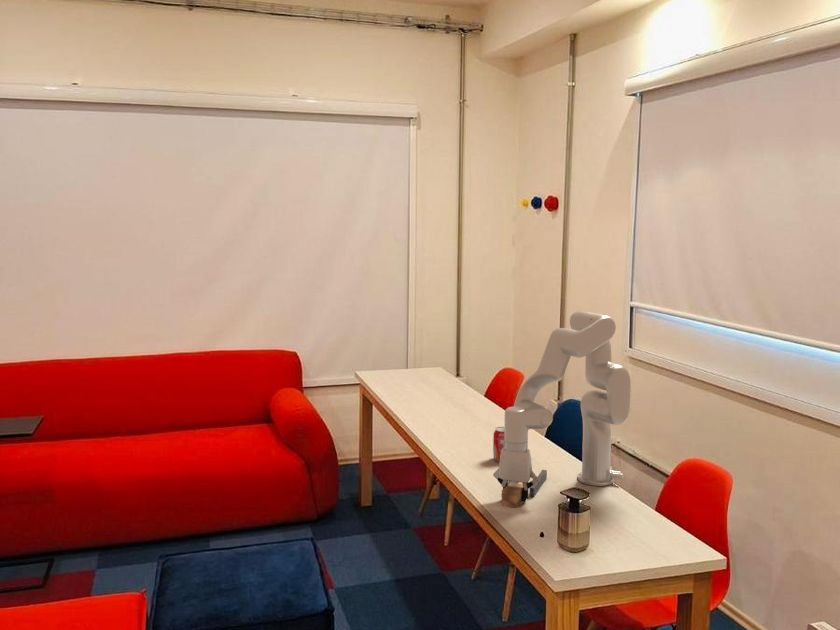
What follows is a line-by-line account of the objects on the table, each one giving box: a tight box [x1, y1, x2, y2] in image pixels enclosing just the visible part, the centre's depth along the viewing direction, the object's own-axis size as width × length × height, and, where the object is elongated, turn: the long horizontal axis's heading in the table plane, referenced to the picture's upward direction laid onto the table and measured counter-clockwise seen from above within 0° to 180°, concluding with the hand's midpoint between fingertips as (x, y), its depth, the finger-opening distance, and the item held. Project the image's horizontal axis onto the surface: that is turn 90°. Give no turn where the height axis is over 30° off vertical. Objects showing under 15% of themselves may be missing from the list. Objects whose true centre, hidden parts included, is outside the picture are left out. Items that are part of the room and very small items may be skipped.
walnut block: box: [501, 482, 524, 509], centre depth 242 cm, size 5×8×5 cm, turn 150°
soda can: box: [492, 426, 505, 463], centre depth 281 cm, size 7×7×12 cm
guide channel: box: [508, 469, 548, 498], centre depth 256 cm, size 10×18×3 cm, turn 157°
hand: (515, 498), depth 243 cm, fingers closed on walnut block, 5 cm apart
